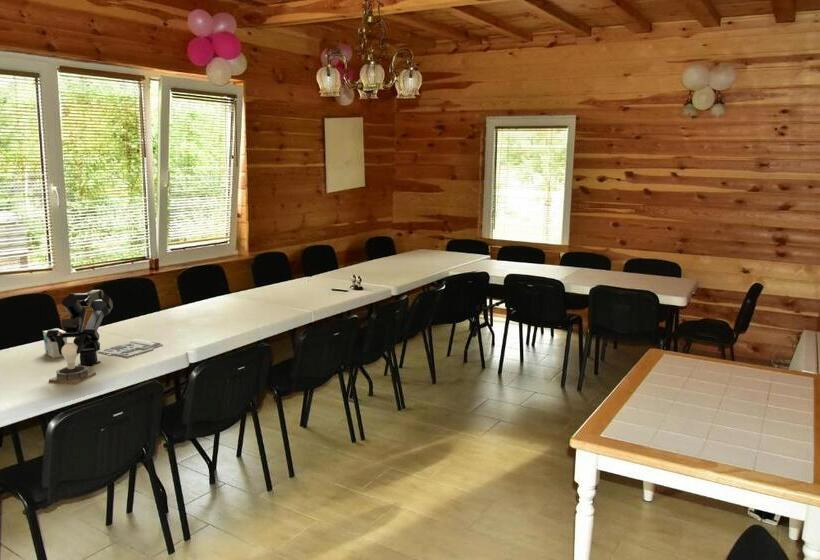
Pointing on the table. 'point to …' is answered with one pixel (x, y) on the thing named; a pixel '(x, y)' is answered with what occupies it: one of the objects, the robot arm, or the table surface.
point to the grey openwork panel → (131, 348)
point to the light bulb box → (52, 345)
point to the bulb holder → (72, 375)
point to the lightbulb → (70, 354)
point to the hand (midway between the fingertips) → (68, 354)
